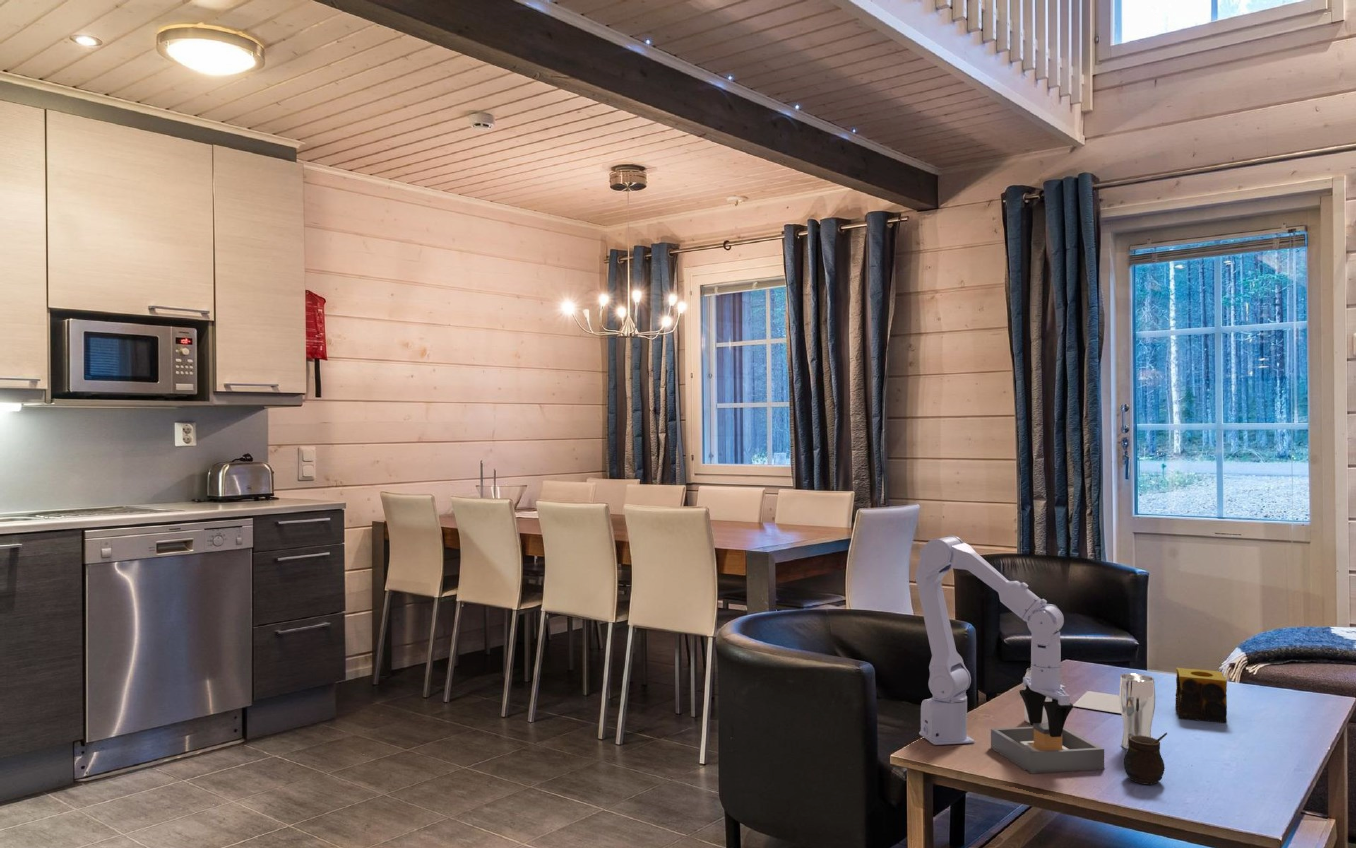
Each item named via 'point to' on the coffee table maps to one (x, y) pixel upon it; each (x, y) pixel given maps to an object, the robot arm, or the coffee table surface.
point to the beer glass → (1136, 705)
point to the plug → (1045, 738)
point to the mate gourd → (1144, 759)
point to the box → (1071, 757)
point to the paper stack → (1099, 702)
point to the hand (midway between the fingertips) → (1045, 730)
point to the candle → (1201, 695)
